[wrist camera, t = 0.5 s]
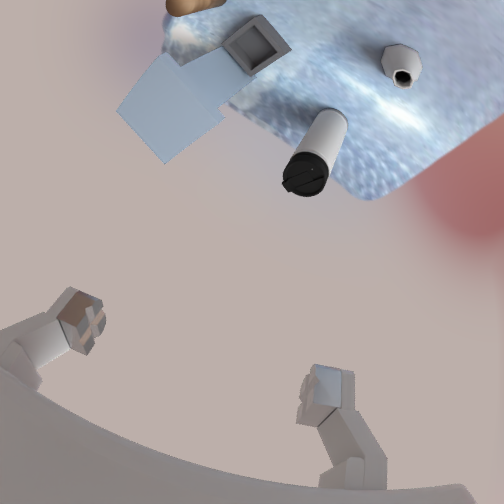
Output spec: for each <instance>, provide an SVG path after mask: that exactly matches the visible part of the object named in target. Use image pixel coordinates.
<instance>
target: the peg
mask: <svg viewBox="0 0 504 504" xmlns="http://www.w3.org/2000/svg"><path fill="white" fill-rule="evenodd" d="M225 2H226V0H166V9H167V11H168V13H169V14H170V15H172V16H175V17H181V16H184V15H187V14H191V13H195V12H198V11H202V10H206V9H210V8H214V7H219V6H222V5H223V4H224V3H225Z"/></svg>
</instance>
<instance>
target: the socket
mask: <svg viewBox="0 0 504 504" xmlns="http://www.w3.org/2000/svg"><path fill="white" fill-rule="evenodd" d="M222 45H223V46H224V47H225V48H226V50H227V51H228V52H229V53H230V54H231V55H232V56H233V58H234V59H235V60H236V61H237V62H238V63H239V65H240V66H241V67H242V68H243V69H244V70H245V72H246V73H247V74H248V75H249V76H250V77H252V76H253V75H255V74H256V73H258V72H259V71H261V70H262V69H264V68H265V67H267V66H268V65H270V64H271V63H273V62H274V61H276V60H277V59H279V58H280V57H282V56H283V55H285V54H287V53H288V52H290V51H291V50H292V49H291V48H290V47H289V46H288V44H287V43H286V42H285V41H284V39H283V38H282V37H281V36H280V35H279V33H278V32H277V31H276V30H275V29H274V28H273V26H272V25H271V24H270V23H269V22H268V21H267V19H266V18H265V17H264V16H263V15H261V16H257V17H254V18H253V19H251V20H250V21H249V22H248V23H246V24H245V25H244V26H242V27H241V28H240V29H239V30H237V31H236V32H235V33H234V34H233V35H231V36H230V37H229V38H228V39H226V40H225V41H224V42H223V43H222Z"/></svg>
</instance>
